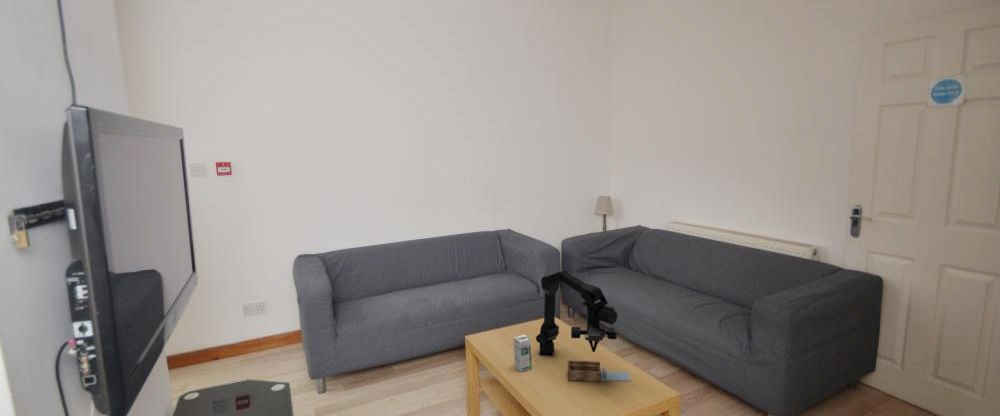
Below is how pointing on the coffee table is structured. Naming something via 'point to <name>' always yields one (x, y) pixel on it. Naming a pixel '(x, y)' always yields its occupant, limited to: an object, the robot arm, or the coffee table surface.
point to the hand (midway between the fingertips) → (593, 351)
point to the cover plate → (614, 376)
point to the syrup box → (522, 353)
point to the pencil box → (584, 371)
